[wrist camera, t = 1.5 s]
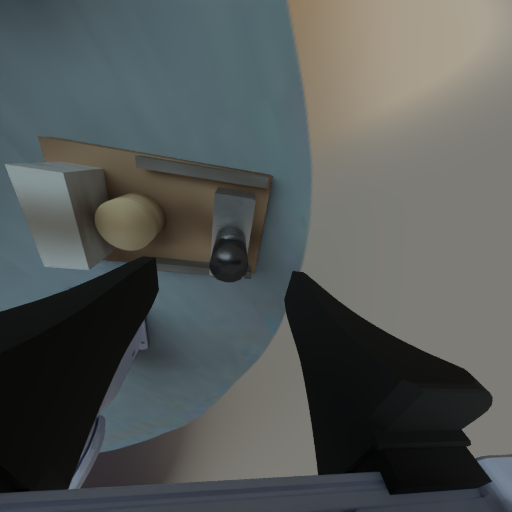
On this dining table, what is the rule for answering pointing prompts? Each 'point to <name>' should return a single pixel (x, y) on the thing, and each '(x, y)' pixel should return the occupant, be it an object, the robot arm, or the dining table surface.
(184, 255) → the base
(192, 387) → the dining table surface
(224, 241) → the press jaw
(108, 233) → the potato
